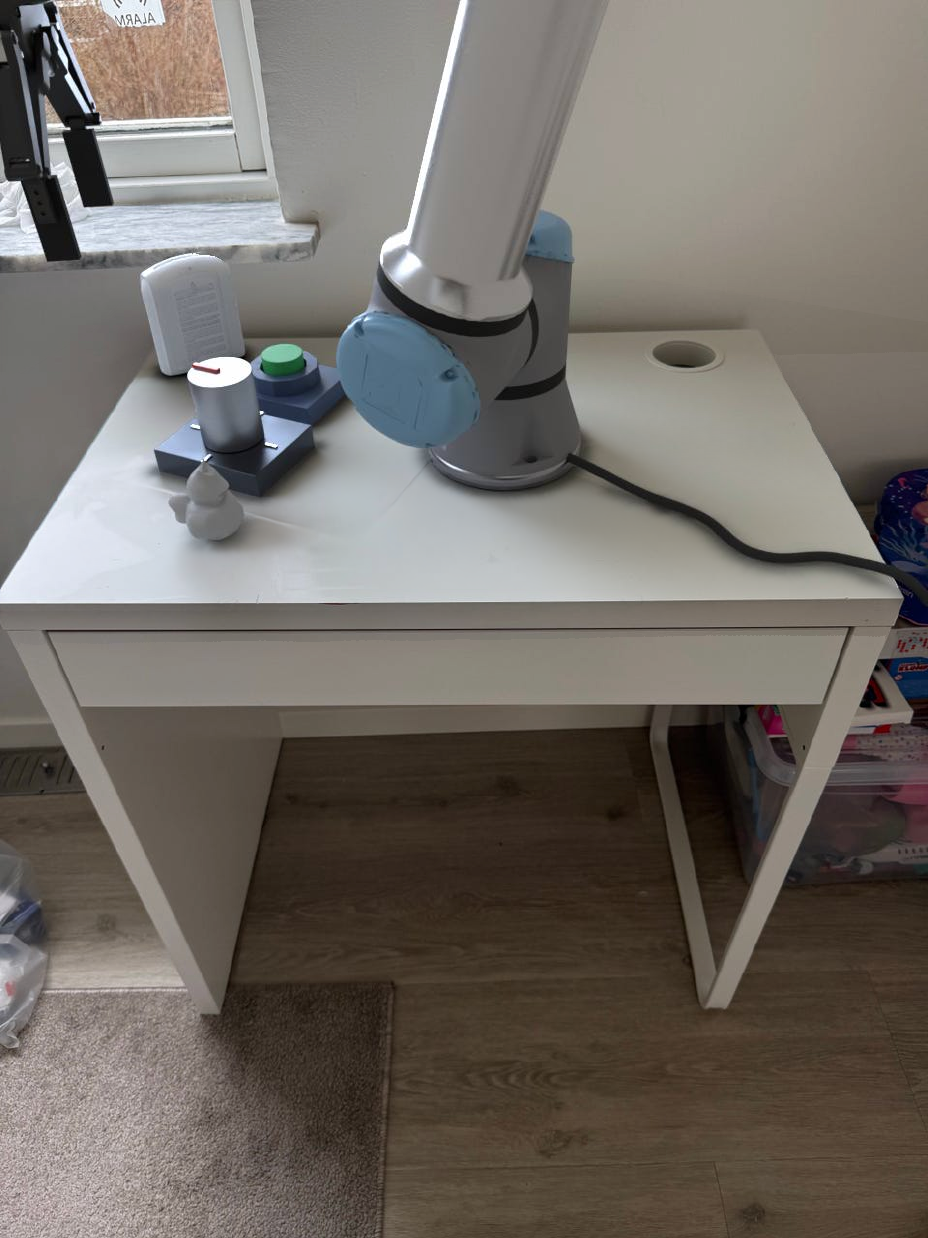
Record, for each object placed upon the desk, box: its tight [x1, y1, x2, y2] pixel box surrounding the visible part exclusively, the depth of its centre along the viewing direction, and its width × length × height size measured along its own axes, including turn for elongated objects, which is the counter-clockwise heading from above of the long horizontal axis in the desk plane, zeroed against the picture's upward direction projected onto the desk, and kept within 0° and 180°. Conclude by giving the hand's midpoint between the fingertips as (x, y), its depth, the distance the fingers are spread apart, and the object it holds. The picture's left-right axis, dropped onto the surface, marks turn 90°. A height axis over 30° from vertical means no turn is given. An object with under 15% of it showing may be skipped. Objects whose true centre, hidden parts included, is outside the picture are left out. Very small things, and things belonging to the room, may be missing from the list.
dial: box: [186, 357, 264, 453], centre depth 91 cm, size 6×6×7 cm
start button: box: [260, 343, 304, 376], centre depth 101 cm, size 4×4×2 cm
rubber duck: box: [167, 458, 245, 541], centre depth 83 cm, size 5×7×8 cm
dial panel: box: [153, 411, 315, 498], centre depth 94 cm, size 12×10×3 cm
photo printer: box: [139, 252, 246, 377], centre depth 107 cm, size 10×4×12 cm, turn 123°
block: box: [249, 350, 347, 426], centre depth 103 cm, size 11×9×4 cm
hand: (82, 231), depth 84 cm, fingers open, 13 cm apart
